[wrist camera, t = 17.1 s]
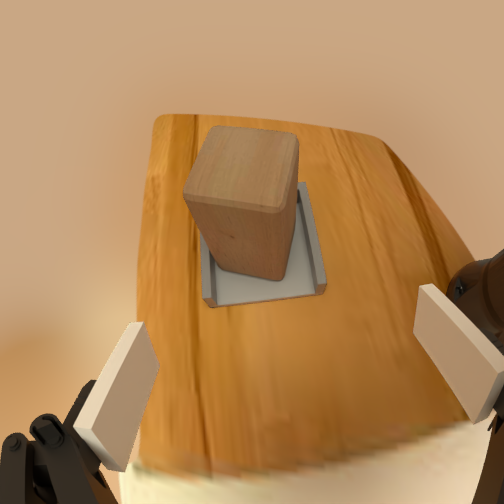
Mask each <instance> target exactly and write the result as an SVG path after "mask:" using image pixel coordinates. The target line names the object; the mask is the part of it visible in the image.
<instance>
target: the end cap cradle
mask: <svg viewBox="0 0 504 504" xmlns="http://www.w3.org/2000/svg"><path fill="white" fill-rule="evenodd" d="M200 242H201V274H202V297H203V300H204V301H205V302H206V303H207V304H208V305H209V306H210V308H214V307H224V306H233V305H242V304H251V303H259V302H267V301H275V300H283V299H291V298H298V297H306V296H313V295H320V294H323V292H324V289H325V287H326V284H327V281H326V275H325V270H324V265H323V260H322V255H321V250H320V245H319V240H318V236H317V231H316V226H315V222H314V217H313V213H312V208H311V204H310V199H309V195H308V191H307V187H306V182H299V183H298V186H297V206H296V224H295V231H294V235H293V240H292V245H291V250H290V254H289V259H288V264H287V268H286V273H285V276H284V277H283V279H282V280H277V281H276V280H271V279H266V278H261V277H256V276H251V275H246V274H241V273H236V272H231V271H226V270H222V269H221V268H219V267H218V265H217V263H216V262H215V260H214V258H213V256H212V254H211V252H210V250H209V248H208V246H207V244H206V242H205V240H204V238H203V236H202V234H201V232H200Z"/></svg>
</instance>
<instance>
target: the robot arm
mask: <svg viewBox="0 0 504 504" xmlns="http://www.w3.org/2000/svg"><path fill="white" fill-rule="evenodd" d="M413 334H414V335H415V337H416V338H417V339H418V341H419V342H420V344H421V345H422V346H423V348H424V349H425V351H426V352H427V354H428V355H429V356H430V358H431V359H432V361H433V362H434V364H435V365H436V367H437V368H438V370H439V371H440V373H441V374H442V376H443V377H444V379H445V380H446V382H447V383H448V385H449V386H450V388H451V389H452V391H453V392H454V394H455V396H456V397H457V399H458V400H459V402H460V403H461V405H462V407H463V408H464V410H465V411H466V413H467V415H468V416H469V418H470V420H471V421H472V423H473V424H475V423H478V422H480V421H482V420H484V419H486V418H488V416H489V414H490V412H491V411H492V409H493V408H494V409H495V411H496V412H497V413H496V415H495V417H494V419H493V420H492V422H491V424H490V426H489V428H488V430H487V431H490V429H491V428H492V432H491V437H490V442H489V446H488V450H487V455H486V458H485V462H484V466H483V470H482V473H481V477H480V480H479V483H478V486H477V490H476V493H475V496H474V498H473V501H472V504H504V249H503V250H502V251H500V252H499V253H498V254H497V255H495V256H494V257H493V258H490V259H484V260H479V261H474V262H471V263H469V264H467V265H466V266H465V267H463V268H462V269H461V270H460V271H458V272H457V273H456V274H455V276H454V277H453V279H452V280H451V282H450V285H449V287H448V291H447V296H445V295H444V294H443V293H442V292H441V291H440V290H439V289H438V288H436V287H435V286H434V285H433V284H427V285H422V286H419V292H418V301H417V308H416V316H415V322H414V329H413ZM159 367H160V365H159V362H158V359H157V357H156V354H155V352H154V349H153V346H152V343H151V341H150V338H149V335H148V332H147V329H146V327H145V324H144V322H132V323H131V322H130V323H129V325H128V326H127V328H126V330H125V331H124V333H123V335H122V336H121V338H120V340H119V342H118V343H117V345H116V347H115V349H114V351H113V352H112V354H111V356H110V358H109V359H108V361H107V363H106V365H105V367H104V368H103V370H102V372H101V374H100V376H99V377H98V379H97V380H90V381H89V382H88V383H87V384H86V385H85V386H84V387H83V388H82V390H81V391H80V393H79V395H78V398H76V401H75V402H74V405H73V406H72V408H71V409H70V411H69V413H68V415H67V417H66V419H65V421H64V423H63V424H62V423H61V422H60V421H59V419H58V418H57V417H56V416H55V415H53V414H43V415H40V416H39V417H37V418H36V419H35V420H34V421H33V422H32V424H31V426H30V433H31V435H32V436H33V437H34V438H35V440H36V441H29V440H28V439H27V438H26V437H25V436H24V435H23V434H21V433H13V434H11V435H9V436H8V437H7V438H6V439H5V441H4V442H3V445H2V452H1V460H0V504H118V502H117V501H116V499H115V497H114V495H113V493H112V492H111V490H110V488H109V486H108V484H107V482H106V480H105V478H104V476H103V474H102V473H101V471H100V470H99V466H100V463H101V462H102V464H103V465H104V466H105V467H106V468H107V469H108V470H112V471H118V472H125V470H126V467H127V464H128V460H129V457H130V454H131V451H132V448H133V445H134V441H135V438H136V435H137V432H138V429H139V426H140V423H141V420H142V417H143V414H144V411H145V408H146V405H147V402H148V399H149V396H150V393H151V390H152V387H153V384H154V382H155V379H156V376H157V373H158V370H159ZM492 426H493V427H492Z"/></svg>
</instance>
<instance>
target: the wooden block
mask: <svg viewBox="0 0 504 504" xmlns="http://www.w3.org/2000/svg"><path fill="white" fill-rule="evenodd" d="M298 162H299V141H298V139H297V136H296V135H295V134H292V133H289V132H281V131H273V130H264V129H254V128H243V127H232V126H214V127H212V128H211V129H210V130H209V132H208V135H207V137H206V139H205V141H204V143H203V145H202V147H201V150H200V152H199V154H198V156H197V158H196V161H195V163H194V165H193V167H192V169H191V172H190V174H189V176H188V179H187V181H186V183H185V186H184V189H183V198H184V200H185V202H186V204H187V206H188V208H189V210H190V212H191V214H192V216H193V218H194V220H195V222H196V224H197V226H198V228H199V230H200V232H201V234H202V236H203V238H204V240H205V242H206V244H207V246H208V248H209V250H210V252H211V254H212V256H213V258H214V260H215V262H216V263H217V265H218V267H219V268H221V269H222V270H226V271H231V272H236V273H241V274H246V275H251V276H256V277H261V278H266V279H271V280H276V281H277V280H282V279H283V277H284V276H285V273H286V268H287V264H288V259H289V254H290V250H291V245H292V240H293V235H294V231H295V224H296V206H297V186H298Z"/></svg>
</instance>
